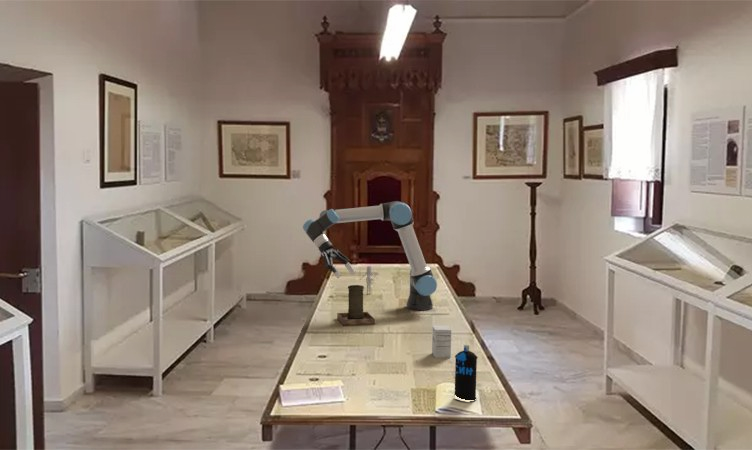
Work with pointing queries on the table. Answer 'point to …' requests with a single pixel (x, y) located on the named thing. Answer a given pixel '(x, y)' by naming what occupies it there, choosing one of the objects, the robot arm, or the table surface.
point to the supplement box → (441, 342)
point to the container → (355, 302)
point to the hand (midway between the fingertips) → (346, 275)
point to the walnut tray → (366, 321)
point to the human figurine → (368, 278)
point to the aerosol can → (465, 374)
